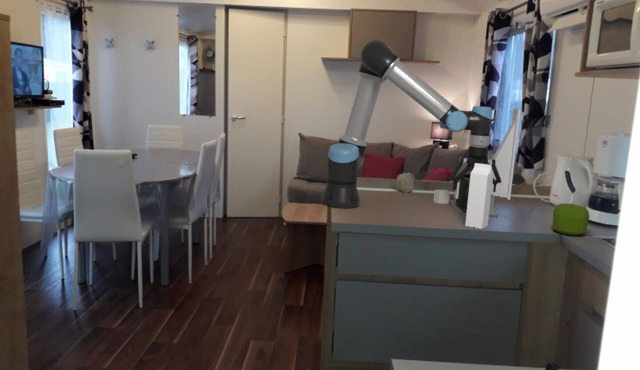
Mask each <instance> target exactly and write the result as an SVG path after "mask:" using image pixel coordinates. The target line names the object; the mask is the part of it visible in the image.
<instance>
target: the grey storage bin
mask: <svg viewBox="0 0 640 370" xmlns="http://www.w3.org/2000/svg"><path fill="white" fill-rule="evenodd" d="M458 182H459V183H460V181H458ZM459 191H460V184H459ZM495 198H496V197H495V196H494V195H493V194H491V201H490V210H489V218H498V217H499V214H498V213H496V212H495V211H494V210H495V209H494V208H495ZM458 201H459V194H458V199H456V198H455V192H454V193H453V199H449V203H448V204H449V205H451V206H452V207H453V208H454V209H456V210H457V211H458V212H459V213H461V215H462V216H465V217H466V214H467V207H463V206H460V205H459V203H458Z"/></svg>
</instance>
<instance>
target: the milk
mask: <svg viewBox="0 0 640 370" xmlns="http://www.w3.org/2000/svg"><path fill="white" fill-rule="evenodd" d="M491 167H492V166H491V165H490V164H488V163H487V164H479V163H475V165H474V169H471V170H472V171H470V174H469V175H470V185H469V194H468V204H467V214H466V216H465V227H468V226H469V227H468V228H473V227H475V228H474V229H478V228H479V230H483V229H485V228H487V227H488V226H489V219H490V217H489V210H490V201H491V192H492V183H493V172H492V170H491Z"/></svg>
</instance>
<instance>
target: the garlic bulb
mask: <svg viewBox="0 0 640 370" xmlns="http://www.w3.org/2000/svg"><path fill="white" fill-rule="evenodd" d="M393 184H394V185H395V189H396V191H398V192H401V193H406V194H407V193H411V192H412V191H413V190H414V189H415V185H416V178H415V176H414V174H412V173H410V172H403V173H399V174H398V175H397V177H396V178H395V180H394V181H393Z"/></svg>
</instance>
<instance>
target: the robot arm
mask: <svg viewBox="0 0 640 370" xmlns="http://www.w3.org/2000/svg"><path fill="white" fill-rule="evenodd" d="M360 61H361V63H360V66H359V70H358V74H359V76H360V80H359V83H358V85H357V86H358V87H357V91H356V94H355V97H354V101H353V105H352V107H351V109H350V110H351V112H350V115H349V118H348V121H347V125H346V129H345V131H344V134H343V135H341V136H340V137H339V139H338V141H337V142H338V143H335V144H332V145H330V146H329V148H328V152H327V157H328V158H327V159H328V160H327V175H326V176H327V177H326V179H327V181H326V186H325V188H324V191H323V193H322V197H321V204H322V205H323V206H327V207H330V208H337V209H352V208H353V209H354V208H358V207H360V204H361V198H360V195H359V189H358V186H357V185H358V184H357V181H358V170H359V169H360V168H361V167H362V165H363V164H364V161H365V153H366V150H367V146H368V145H367V143H366V136H367V133H368V131H369V127H370V123H371V121H372V116H373V113H374V109H375V106H376V104H377V100H378V97H379V94H380V90H381V87H382V84H383V83H384V82H386V81H387V80H388V81H390V82H391V83H392V84H393V85H394V86H395V87H397V88H398V89H400V91H402V92H403V93H404V94H406V95H407V96H408V97H410V98H411V99H412V100H413V101H414V102H416V103H417V104H418V105H419V106H421V107H422V108H423V109H424V110H426V112H427V113H429V114H431V115H432V116H433V117H434V118H436V120H438V121H439V127H440V129H445V130H449V131H450V132H452V133H460V132H462V131H469V132H470V133H469V139H468V140H469V142H468V144H469V146H468V148H467V149H468V150H467V151H468V153H467V157H459V158H458V162H457V164H456V166H455V167H454V169H453V171H452V172H451V173H450V175H449V177H448V178H449V180H450V181H452V182H453V183H452V190H454V193H455V198H456V199H458V194H459V184H460V183H459V182H460V181H461V178H462V177H463V176H464V175H465V174H467V173H468V172H469V171H471V170H473V169H474V165H475V163H479V164H487V165H491V166H492V167H491V168H492V170H493V173H494V175H495V178H496V180H495V179H494V178H493V183H492V192H491V194H493V192H495V191H496V185H497V183H501V182H502V181H501V178H500V176H499V173H498V170H497V168H496V165H495V160H494V159H493V158H490V159H488V157H489V145H490V137H491V130H492V129H491V128H492V121H493V109H492V107H490V106H480V105H479V106H477V105H475V106H473V107H472V109H471V110H460V109H459V108H458V107H456V106H455V105H454V104H452V103H451V102H450V101H449V100H448V99H446V98H445V96H442V94H440V93H439V92H438V91H437V90H435V89H434V88H432V87H431V86H430V85H429V84H428V83H427V82H425V81H424V80H423V79H422V78H420V76H418V75H417V74H416V73H414V72H413V71H412V70H410V68H408V67H407V66H405V65H404V64H403V63H402V62H401V59H400V57H399V56H398V55H397V54H395V53H394V51H393V49H392V48H391V47H390V46H389V45H388V44H387V43H386V42H385V41H382V40H378V39H375V40H374V39H373V40H371V41H368V42H366V43H365V45H364V46H363V47H362V48H361V51H360ZM465 163H466V164H467V165H466V166H465V167H464V168H463V169H462V170H461V171H460V169H461V168H462V166H463V164H465ZM459 171H460V172H459Z"/></svg>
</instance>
